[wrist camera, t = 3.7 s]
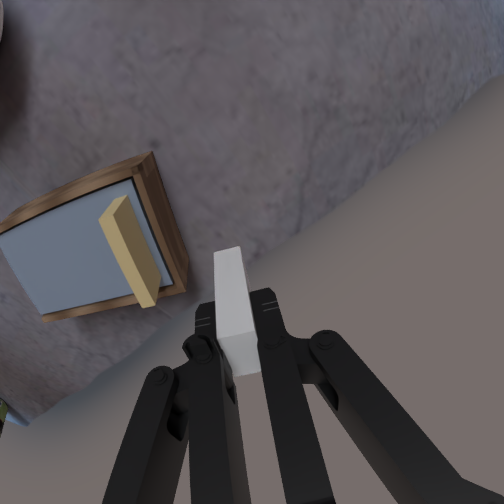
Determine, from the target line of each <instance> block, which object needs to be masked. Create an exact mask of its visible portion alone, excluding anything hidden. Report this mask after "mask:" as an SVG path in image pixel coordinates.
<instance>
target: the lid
mask: <svg viewBox="0 0 504 504" xmlns="http://www.w3.org/2000/svg"><path fill="white" fill-rule="evenodd" d="M0 248H1V250H2V252H3V253H4V255H5V257H6V259H7V261H8V263H9V264H10V266H11V268H12V270H13V271H14V273H15V275H16V277H17V278H18V280H19V282H20V283H21V285H22V286H23V288H24V290H25V291H26V293H27V294H28V296H29V297H30V299H31V301H32V302H33V304H34V305H35V306H36V308H37V309H38V311H39V312H40V314H41V315H42V314H46V313H51V312H55V311H60V310H64V309H69V308H73V307H77V306H82V305H86V304H90V303H95V302H99V301H103V300H108V299H112V298H116V297H120V296H125V295H129V294H133V293H134V294H135V296H136V298H137V300H138V302H139V303H140V305H141V307H142V308H146V307H151V306H155V305H156V301H157V295H158V290H159V287H162V286H167V285H171V284H173V277H172V274H171V272H170V270H169V267H168V265H167V263H166V260H165V258H164V256H163V253H162V251H161V248H160V246H159V244H158V241H157V239H156V236H155V234H154V231H153V229H152V226H151V223H150V221H149V218H148V216H147V213H146V210H145V208H144V205H143V202H142V200H141V197H140V194H139V191H138V189H137V186H136V183H135V180H134V177H133V176H131V177H129V178H126V179H123V180H120V181H117V182H115V183H112V184H109V185H107V186H104V187H101V188H99V189H96V190H94V191H91V192H89V193H86V194H84V195H81V196H79V197H76V198H74V199H71V200H69V201H67V202H64V203H62V204H60V205H58V206H55V207H53V208H51V209H49V210H46V211H44V212H42V213H40V214H38V215H36V216H34V217H32V218H29V219H27V220H25V221H23V222H21V223H19V224H17V225H15V226H13V227H11V228H10V229H8V230H6V231H4V232H2V233H0Z"/></svg>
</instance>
